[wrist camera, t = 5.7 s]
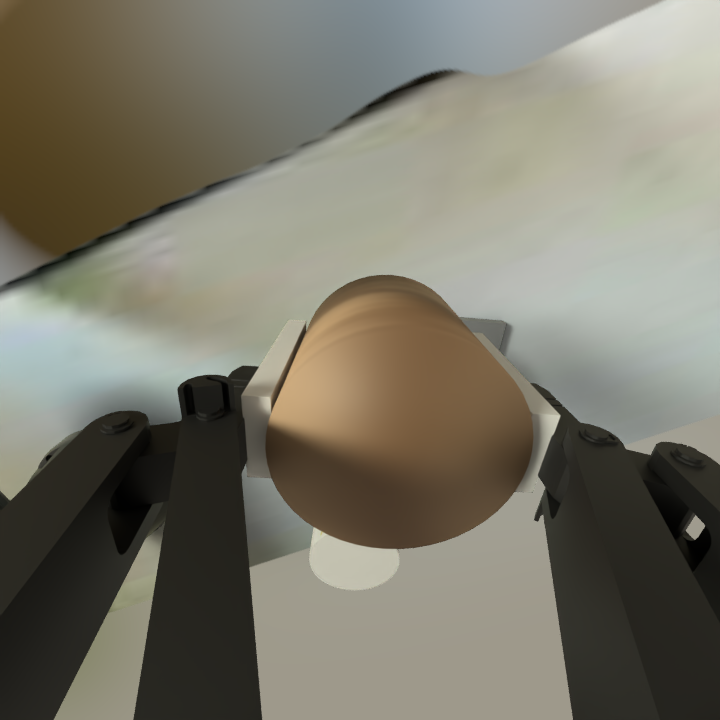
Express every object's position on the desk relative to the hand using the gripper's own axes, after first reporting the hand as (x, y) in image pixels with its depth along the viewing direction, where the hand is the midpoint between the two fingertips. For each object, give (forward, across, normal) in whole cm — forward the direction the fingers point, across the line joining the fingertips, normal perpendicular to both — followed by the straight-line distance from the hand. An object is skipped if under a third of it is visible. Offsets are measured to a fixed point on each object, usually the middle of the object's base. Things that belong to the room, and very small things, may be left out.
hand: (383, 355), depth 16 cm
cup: (+19, 0, -23) cm, 30 cm away
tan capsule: (+4, 0, 0) cm, 4 cm away
